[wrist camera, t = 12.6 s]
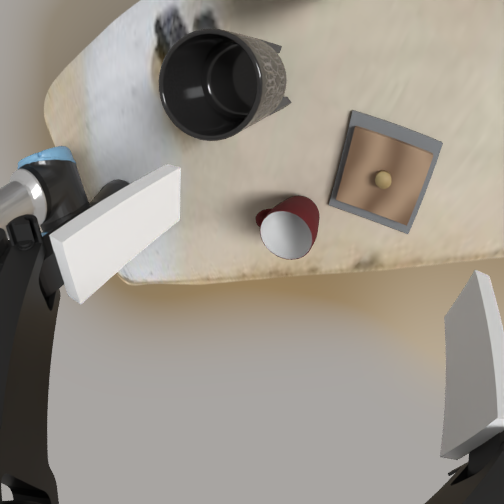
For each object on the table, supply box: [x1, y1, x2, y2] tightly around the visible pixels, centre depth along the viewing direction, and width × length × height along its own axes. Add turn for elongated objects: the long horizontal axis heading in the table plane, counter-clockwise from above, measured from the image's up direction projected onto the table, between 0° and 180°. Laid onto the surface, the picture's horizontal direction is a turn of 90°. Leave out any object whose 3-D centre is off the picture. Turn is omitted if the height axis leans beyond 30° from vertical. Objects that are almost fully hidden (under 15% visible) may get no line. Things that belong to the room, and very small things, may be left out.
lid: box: [336, 126, 434, 226], centre depth 42 cm, size 12×12×3 cm
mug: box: [256, 196, 319, 260], centre depth 50 cm, size 10×8×10 cm
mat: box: [329, 110, 443, 234], centre depth 44 cm, size 14×16×1 cm
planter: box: [159, 29, 291, 141], centre depth 37 cm, size 13×13×18 cm
